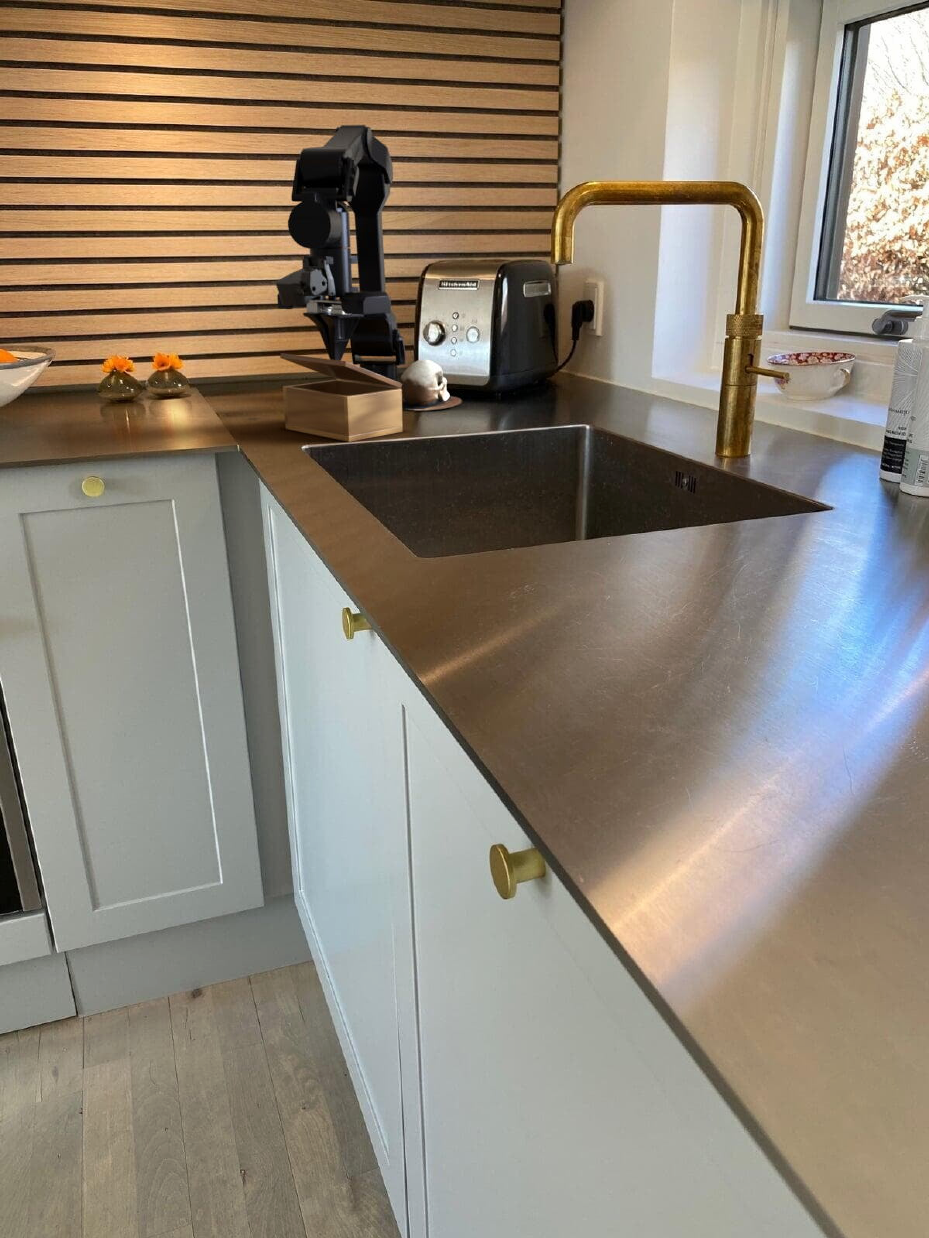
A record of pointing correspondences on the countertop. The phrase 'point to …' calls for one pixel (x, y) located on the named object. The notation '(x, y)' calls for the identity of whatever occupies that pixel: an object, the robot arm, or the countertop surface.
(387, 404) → the chest
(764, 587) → the countertop surface
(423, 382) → the skull
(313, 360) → the lid
